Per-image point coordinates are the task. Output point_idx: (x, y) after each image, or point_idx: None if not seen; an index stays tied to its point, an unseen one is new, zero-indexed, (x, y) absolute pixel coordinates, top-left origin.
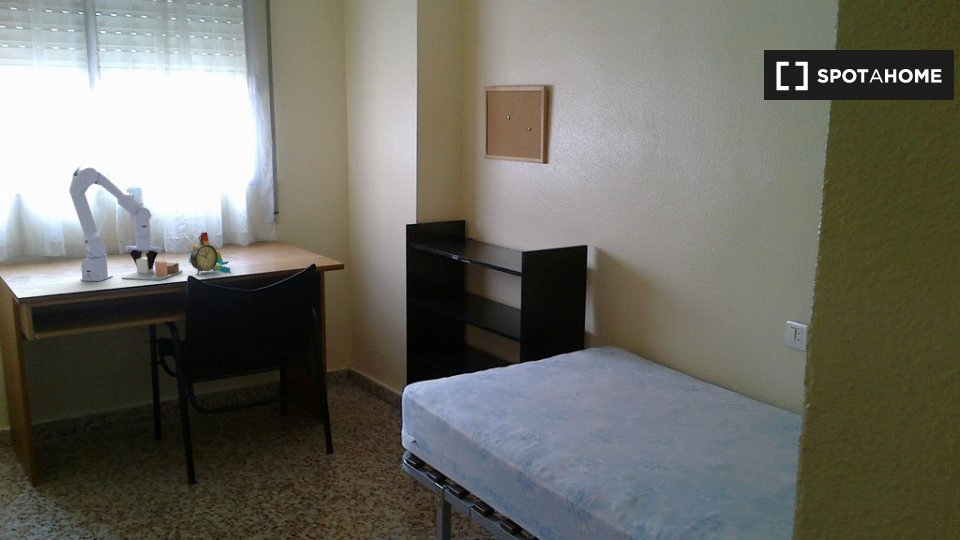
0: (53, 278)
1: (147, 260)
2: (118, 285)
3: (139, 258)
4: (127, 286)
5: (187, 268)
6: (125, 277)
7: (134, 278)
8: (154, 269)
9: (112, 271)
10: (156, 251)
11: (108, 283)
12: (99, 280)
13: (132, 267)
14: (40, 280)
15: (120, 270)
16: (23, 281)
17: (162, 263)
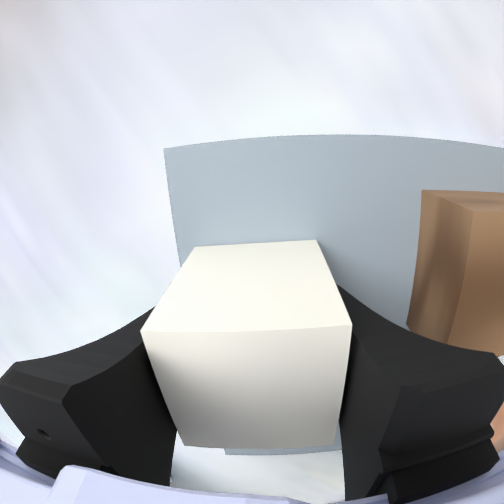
0: (6, 418)
1: (333, 422)
2: (300, 500)
3: (171, 402)
4: (344, 498)
5: (474, 5)
6: (246, 452)
7: (309, 451)
8: (272, 150)
9: (5, 276)
10: (498, 467)
11: (236, 492)
12: (171, 480)
13: (8, 103)
14: (13, 436)
15: (11, 232)
16: (4, 439)
17: (499, 448)
